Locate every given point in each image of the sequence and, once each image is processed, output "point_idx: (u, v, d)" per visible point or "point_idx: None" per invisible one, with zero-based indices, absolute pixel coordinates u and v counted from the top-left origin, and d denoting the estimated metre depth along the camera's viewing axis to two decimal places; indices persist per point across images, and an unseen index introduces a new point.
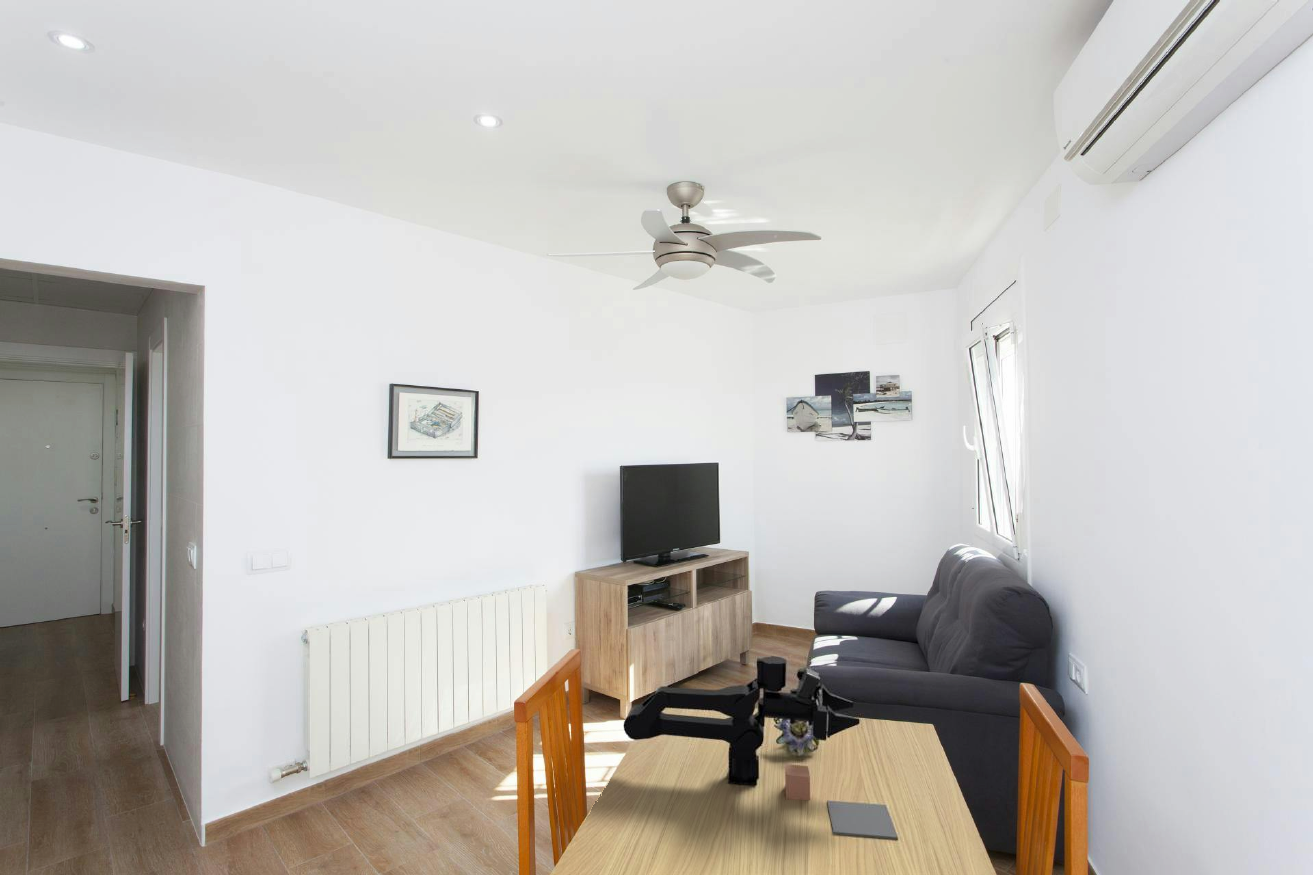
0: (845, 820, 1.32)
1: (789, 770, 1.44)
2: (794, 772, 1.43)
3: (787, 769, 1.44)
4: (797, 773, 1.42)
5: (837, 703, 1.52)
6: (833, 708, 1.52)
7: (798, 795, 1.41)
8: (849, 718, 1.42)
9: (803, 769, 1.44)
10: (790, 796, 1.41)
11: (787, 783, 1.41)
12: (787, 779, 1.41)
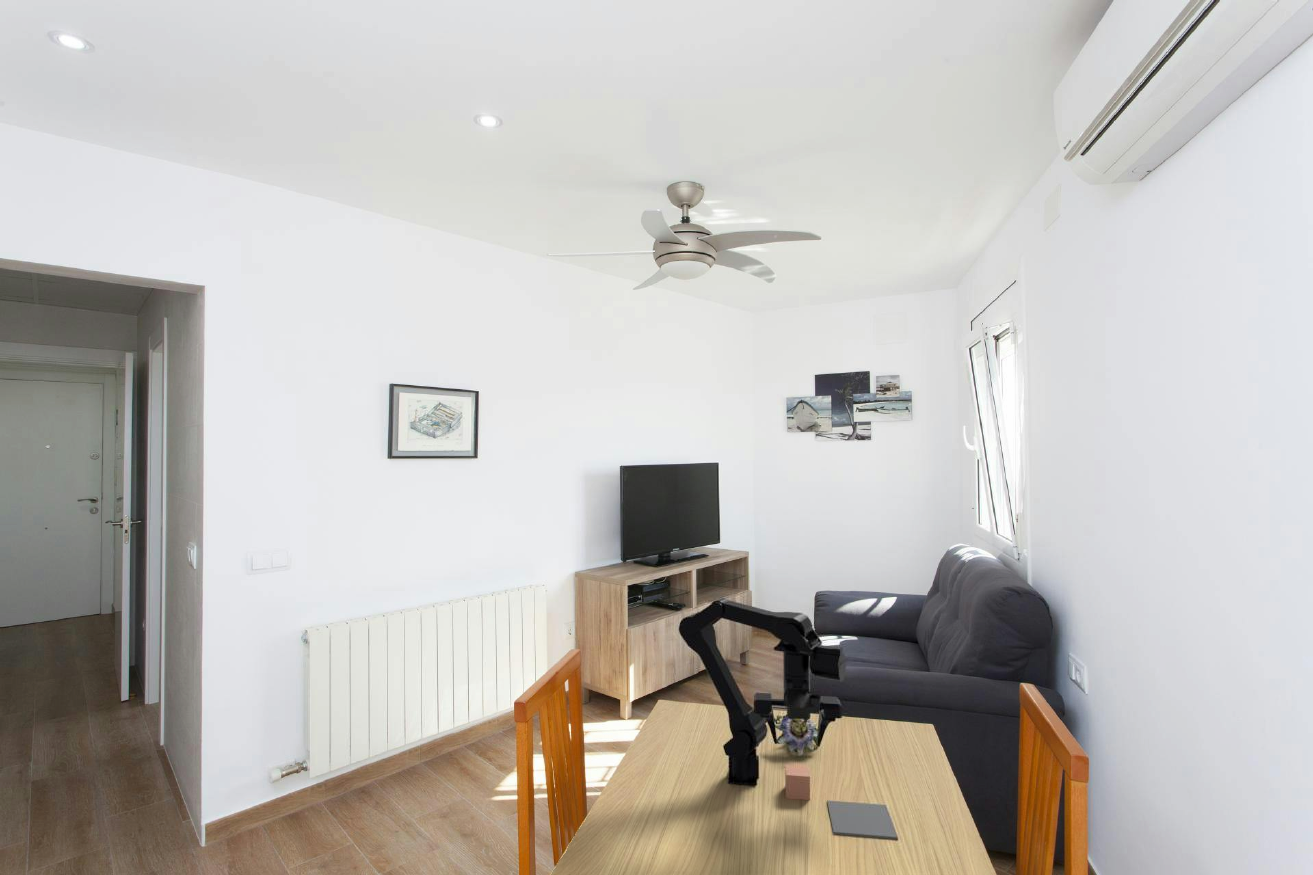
0: (845, 820, 1.32)
1: (789, 770, 1.44)
2: (794, 772, 1.43)
3: (787, 769, 1.44)
4: (797, 773, 1.42)
5: (819, 728, 1.44)
6: (818, 722, 1.45)
7: (798, 795, 1.41)
8: None
9: (803, 769, 1.44)
10: (790, 796, 1.41)
11: (787, 783, 1.41)
12: (787, 779, 1.41)
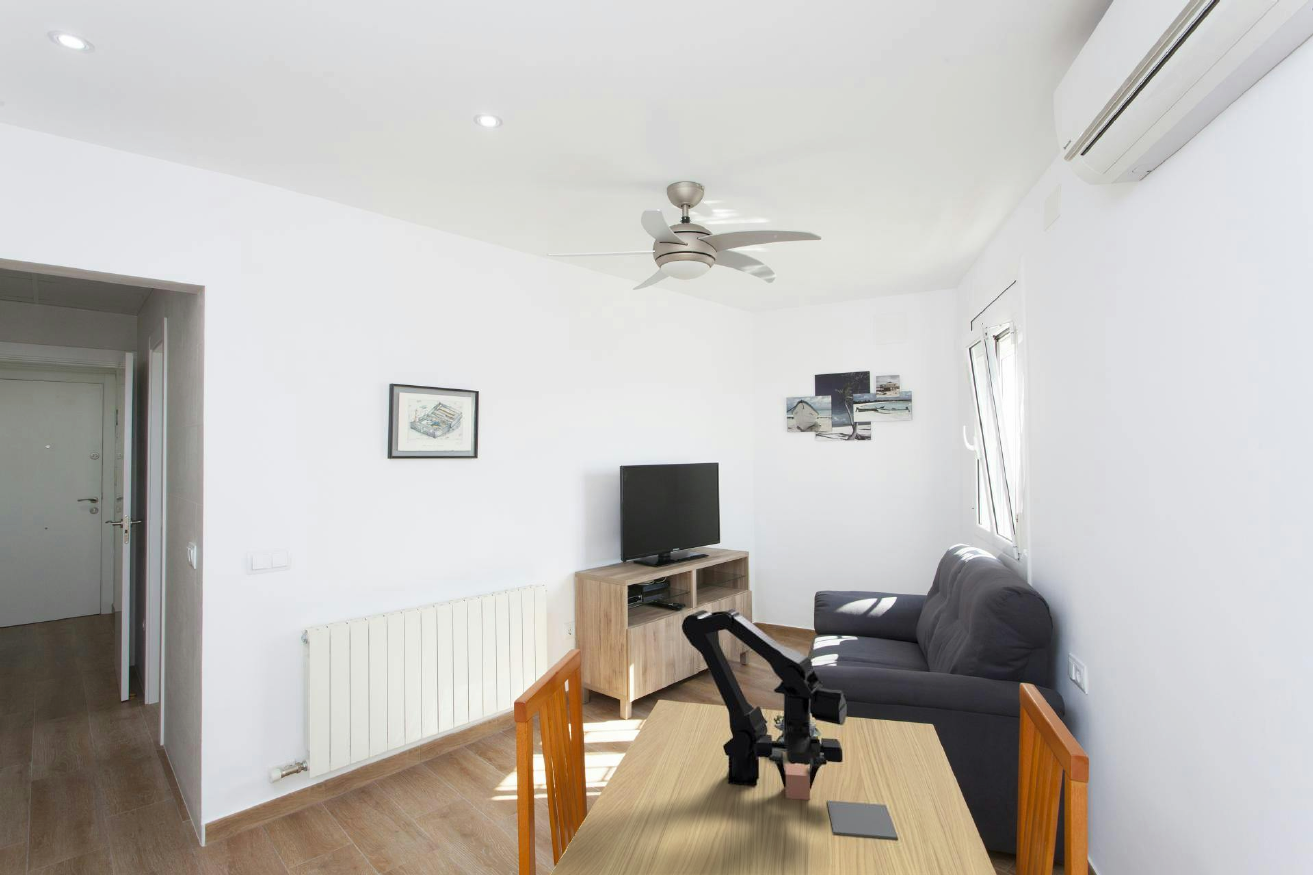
0: (845, 820, 1.32)
1: (789, 769, 1.44)
2: (794, 772, 1.43)
3: (787, 769, 1.44)
4: (797, 772, 1.42)
5: (810, 770, 1.43)
6: (810, 764, 1.45)
7: (798, 795, 1.41)
8: (781, 777, 1.43)
9: (803, 769, 1.44)
10: (790, 796, 1.41)
11: (787, 783, 1.41)
12: (787, 779, 1.41)
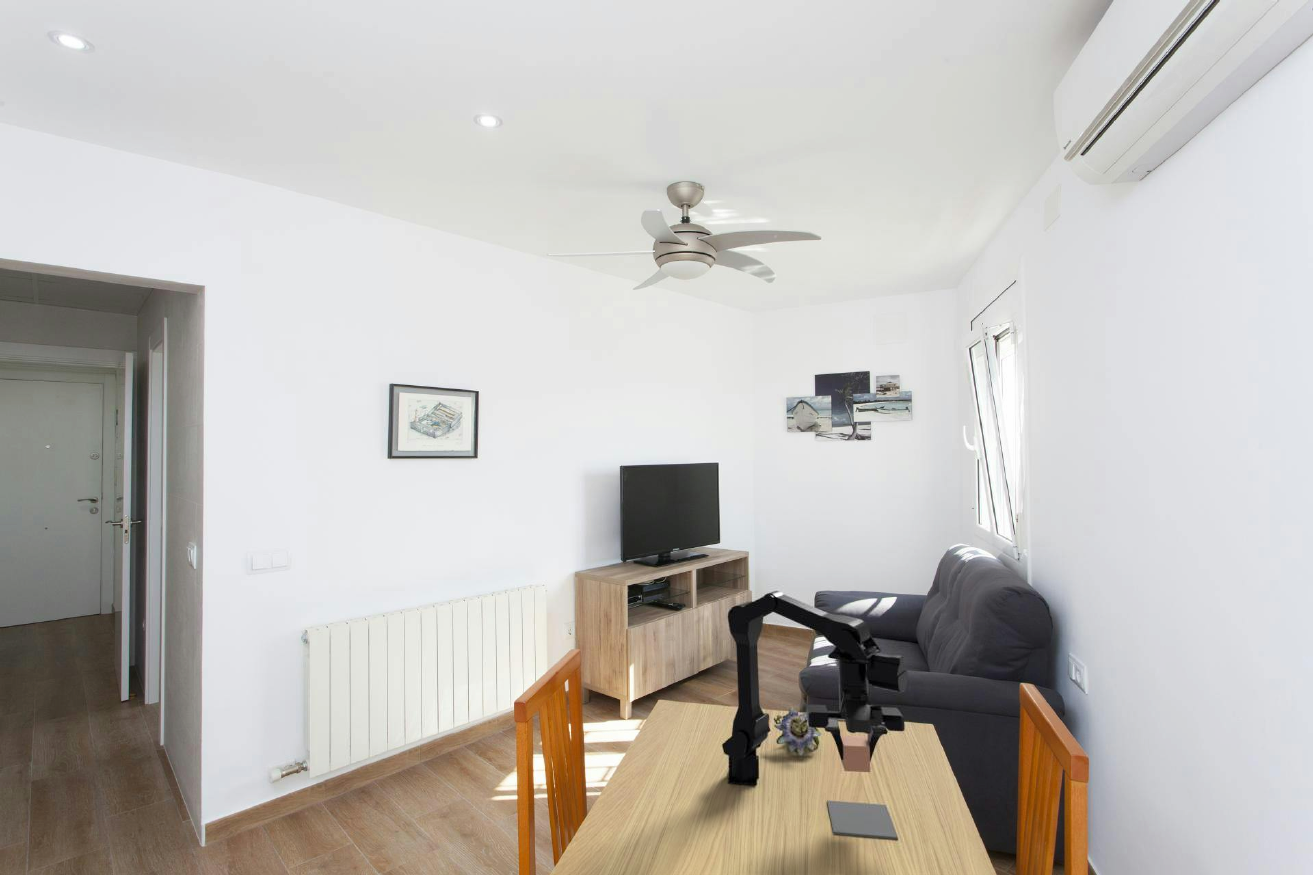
0: (845, 820, 1.32)
1: (846, 740, 1.34)
2: (852, 743, 1.33)
3: (844, 740, 1.35)
4: (855, 743, 1.33)
5: (869, 742, 1.34)
6: (868, 735, 1.35)
7: (857, 767, 1.32)
8: None
9: (861, 740, 1.35)
10: (849, 768, 1.32)
11: (845, 754, 1.32)
12: (845, 750, 1.32)
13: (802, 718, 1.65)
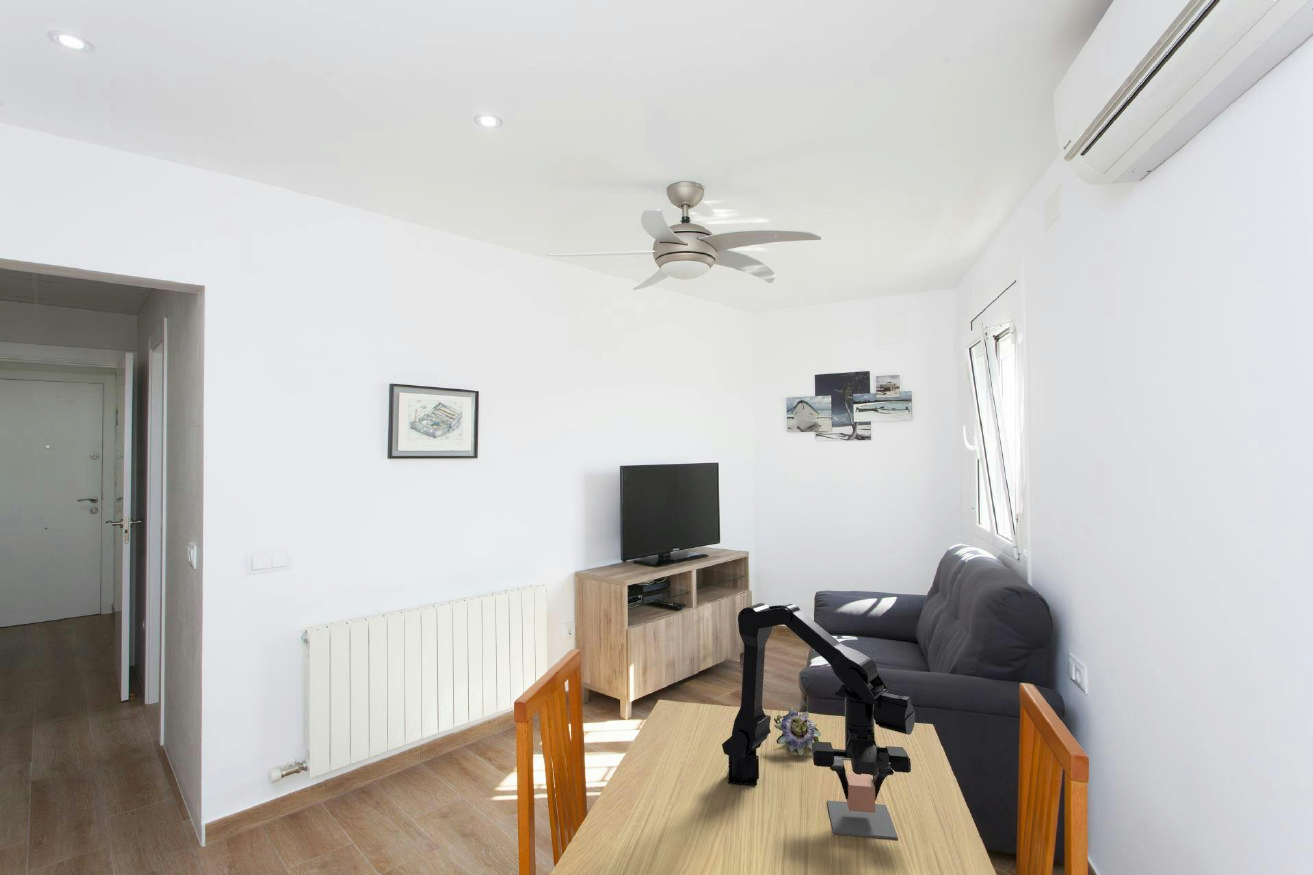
0: (845, 820, 1.32)
1: (851, 779, 1.33)
2: (857, 782, 1.32)
3: (849, 779, 1.34)
4: (861, 783, 1.32)
5: (874, 781, 1.33)
6: None
7: (862, 807, 1.30)
8: None
9: (866, 779, 1.34)
10: (853, 808, 1.31)
11: (850, 794, 1.31)
12: (850, 790, 1.31)
13: (802, 718, 1.65)
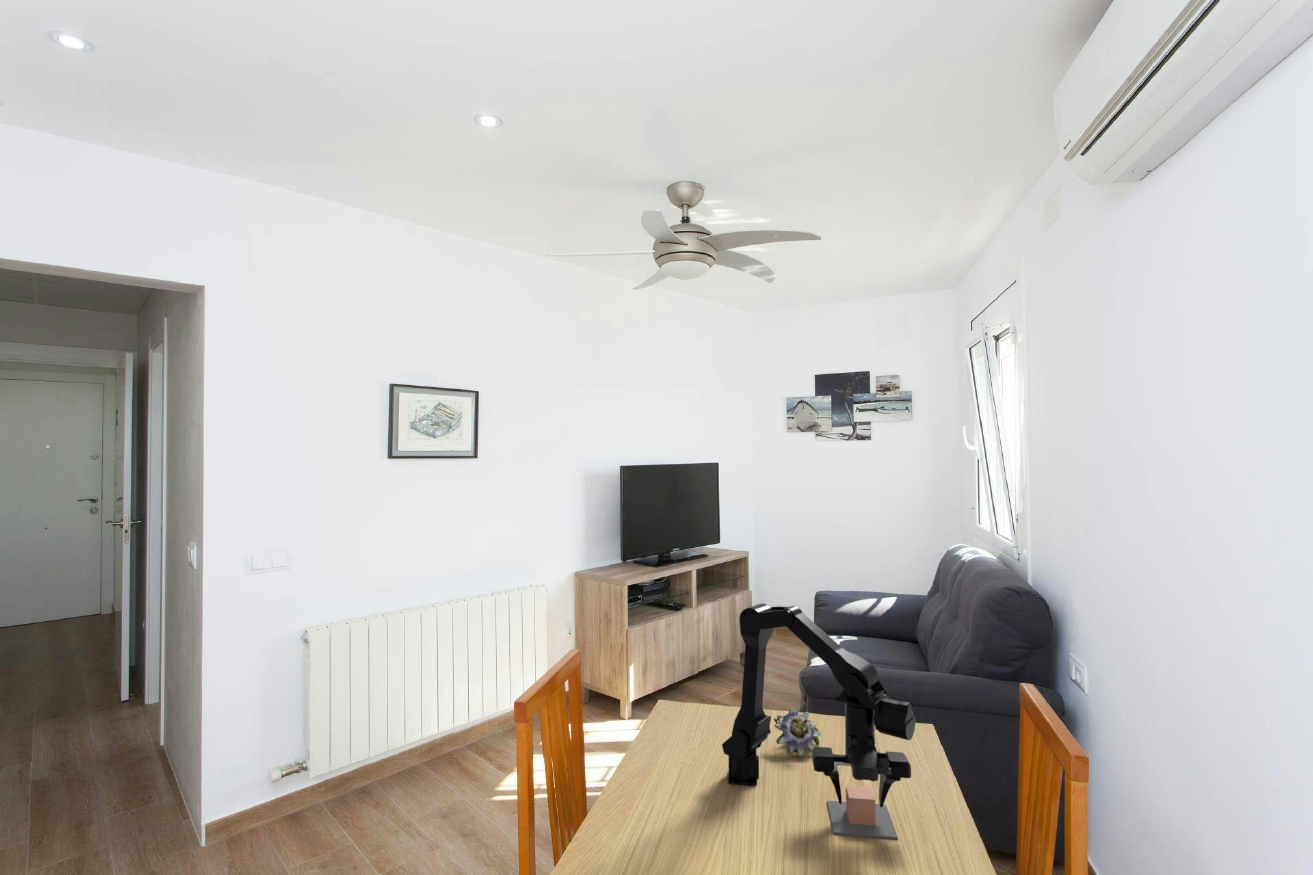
0: (845, 820, 1.32)
1: (851, 792, 1.33)
2: (858, 795, 1.32)
3: (849, 791, 1.33)
4: (861, 796, 1.32)
5: (881, 787, 1.33)
6: (880, 780, 1.34)
7: (862, 820, 1.30)
8: None
9: (866, 791, 1.33)
10: (854, 821, 1.31)
11: (850, 807, 1.31)
12: (850, 802, 1.31)
13: (802, 718, 1.65)
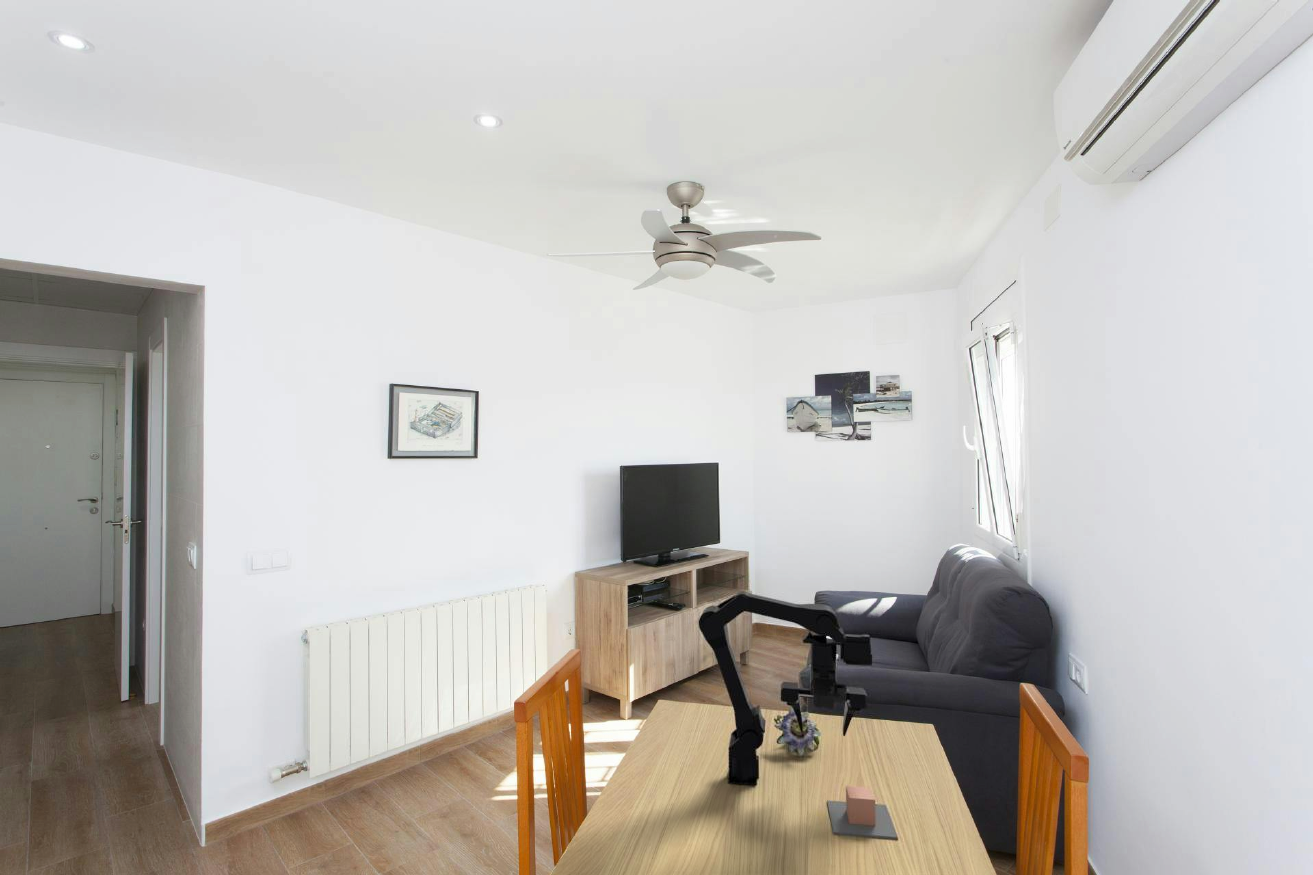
0: (845, 820, 1.32)
1: (851, 792, 1.33)
2: (858, 795, 1.32)
3: (849, 791, 1.33)
4: (861, 796, 1.32)
5: (845, 718, 1.47)
6: (844, 712, 1.48)
7: (862, 820, 1.30)
8: (798, 722, 1.48)
9: (866, 791, 1.33)
10: (854, 821, 1.31)
11: (850, 807, 1.31)
12: (850, 802, 1.31)
13: (802, 718, 1.65)
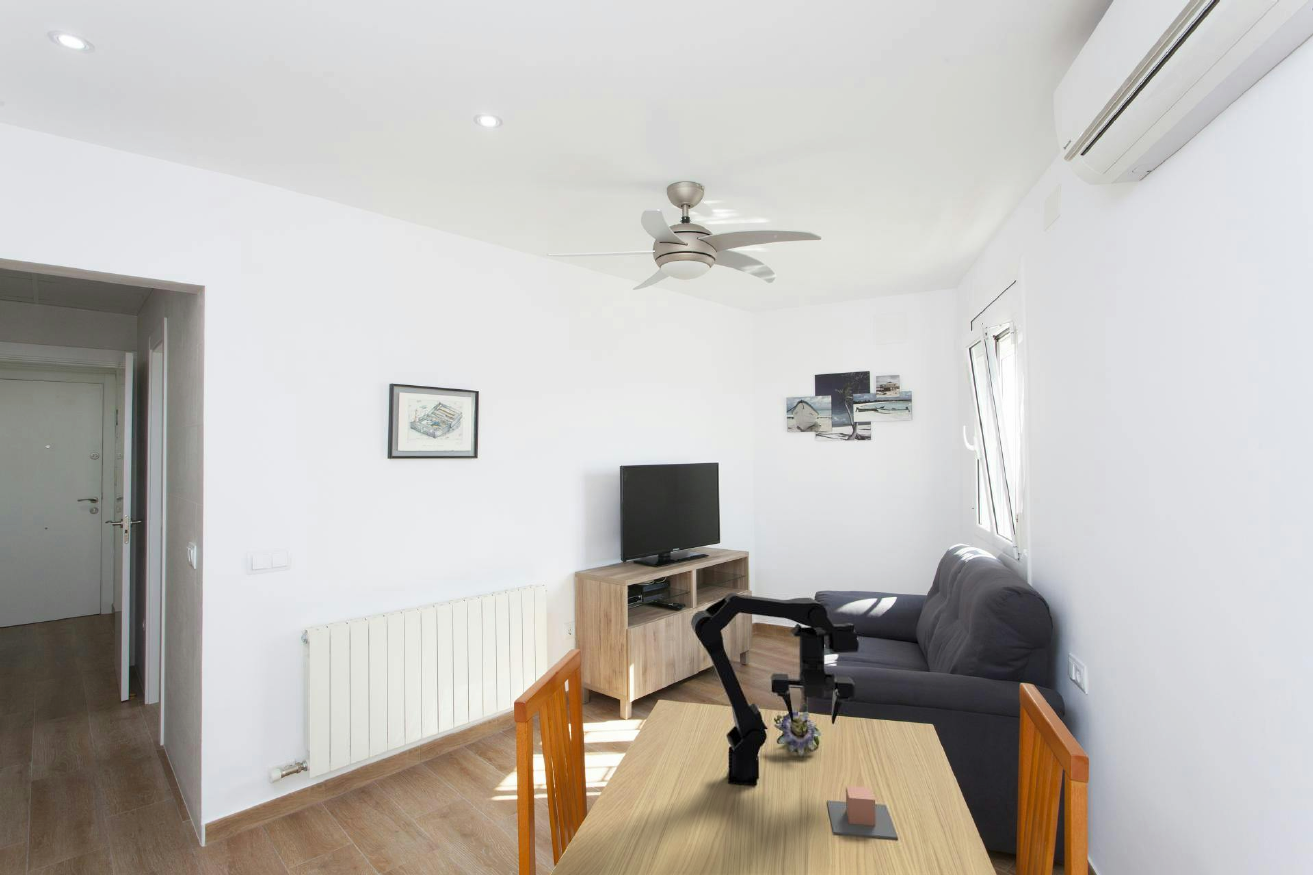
0: (845, 820, 1.32)
1: (851, 792, 1.33)
2: (858, 795, 1.32)
3: (849, 791, 1.33)
4: (861, 796, 1.32)
5: (833, 707, 1.52)
6: (832, 701, 1.53)
7: (862, 820, 1.30)
8: None
9: (866, 791, 1.33)
10: (854, 821, 1.31)
11: (850, 807, 1.31)
12: (850, 802, 1.31)
13: (802, 718, 1.65)
